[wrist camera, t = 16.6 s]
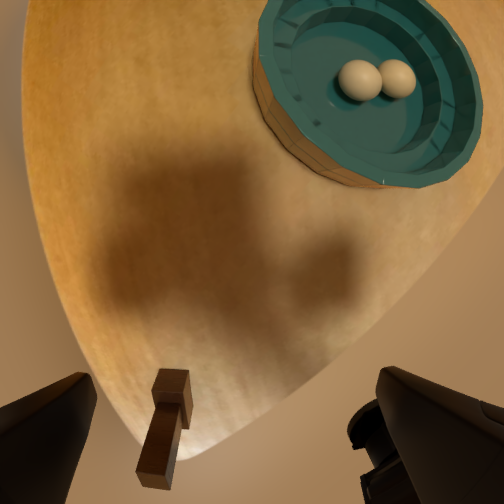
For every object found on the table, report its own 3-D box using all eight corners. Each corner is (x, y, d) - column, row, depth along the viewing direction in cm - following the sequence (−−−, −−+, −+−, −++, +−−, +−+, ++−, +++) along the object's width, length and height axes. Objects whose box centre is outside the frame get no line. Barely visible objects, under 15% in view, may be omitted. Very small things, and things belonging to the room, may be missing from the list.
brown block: (193, 406, 23) (178, 499, 13) (166, 404, 22) (141, 494, 13) (188, 370, 22) (166, 466, 12) (159, 368, 22) (124, 459, 12)
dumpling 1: (330, 98, 18) (369, 112, 18) (342, 81, 15) (386, 98, 15) (337, 65, 17) (374, 79, 18) (348, 45, 14) (391, 63, 15)
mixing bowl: (443, 195, 20) (488, 199, 15) (252, 182, 19) (258, 178, 14) (425, 31, 17) (458, 8, 12) (253, -5, 16) (258, -47, 11)
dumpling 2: (418, 107, 17) (413, 85, 14) (380, 104, 18) (370, 83, 16) (417, 75, 16) (411, 52, 14) (381, 73, 18) (371, 51, 16)
